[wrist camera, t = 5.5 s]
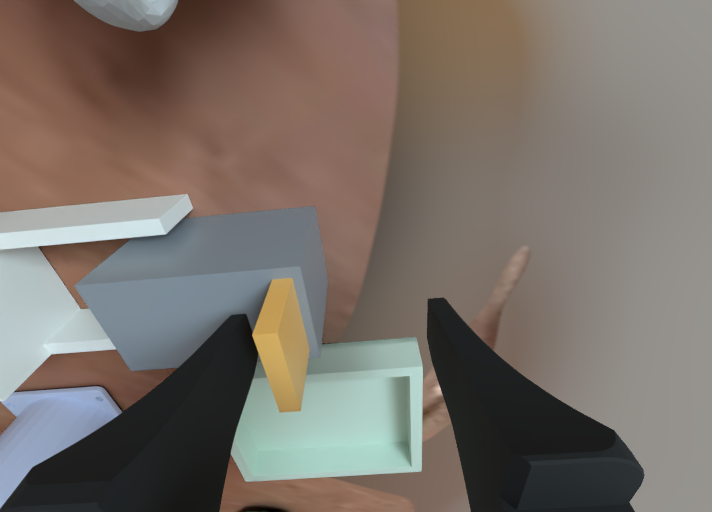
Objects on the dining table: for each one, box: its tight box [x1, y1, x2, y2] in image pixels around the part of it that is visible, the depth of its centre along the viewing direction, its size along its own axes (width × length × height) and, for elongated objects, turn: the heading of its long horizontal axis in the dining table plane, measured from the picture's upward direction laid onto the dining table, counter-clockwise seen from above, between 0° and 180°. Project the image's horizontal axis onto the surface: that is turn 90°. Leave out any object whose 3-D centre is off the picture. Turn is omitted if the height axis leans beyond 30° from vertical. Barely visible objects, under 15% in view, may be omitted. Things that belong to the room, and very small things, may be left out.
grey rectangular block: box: [74, 206, 328, 413], centre depth 15 cm, size 5×9×9 cm, turn 96°
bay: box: [0, 194, 193, 401], centre depth 17 cm, size 8×10×6 cm
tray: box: [231, 337, 423, 482], centre depth 25 cm, size 13×15×2 cm
